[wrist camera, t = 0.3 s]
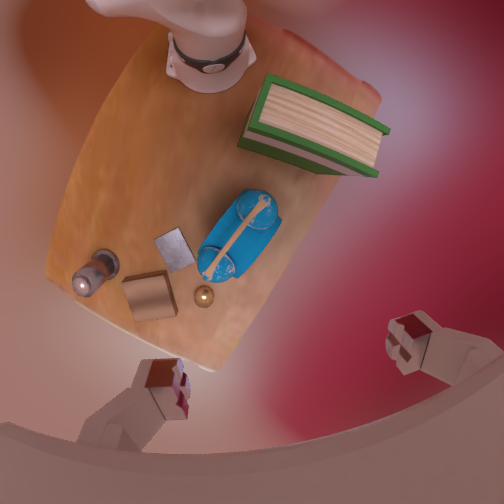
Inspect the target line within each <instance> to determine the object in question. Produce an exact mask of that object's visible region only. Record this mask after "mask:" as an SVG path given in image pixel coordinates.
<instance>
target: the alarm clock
mask: <svg viewBox="0 0 504 504" xmlns="http://www.w3.org/2000/svg"><path fill="white" fill-rule="evenodd" d="M281 221H282V219H281V218H280V217H279V216H278V208H277V204H276V201H275V200H274V198H273V197H272V196H271V195H270V194H269V193H267V192H265V191H262V190H252V191H251V190H250V189H248V188H247V189H246V190H244V191H243V192H242V193H241V195H240V196H239V197H238V198H237V199H236V200H235V201H234V202H233V204H232V205H231V206H230V207H229V208H228V210H227V211H226V212H225V213H224V215H223V216H222V217H221V219H220V220H219V221H218V222H217V224H216V225H215V227H214V228H213V229H212V231H211V232H210V233H209V235H208V236H207V238H206V239H205V241H204V242H203V244H202V245H201V247H200V249H199V251H198V253H197V254H198V258H197V267H198V270H199V272H200V274H201V275H202V277H203V279H204V280H206V281H210V282H214V283H220V282H224V281H226V280H228V279H229V278H231V277H232V276H233V277H235V278H238V277H240V276H241V275H242V274H243V273H244V272H245V271H246V270H247V269H248V268H249V267H250V266H251V264H252V263H253V262H254V261H255V260H256V258H257V257H258V256H259V255H260V253H261V252H262V251H263V249H264V248H265V247H266V245H267V244H268V243H269V241H270V240H271V238H272V237H273V235H274V234H275V232H276V231H277V229H278V228H279V226H280V224H281Z"/></svg>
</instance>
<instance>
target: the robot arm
mask: <svg viewBox="0 0 504 504" xmlns="http://www.w3.org/2000/svg"><path fill="white" fill-rule="evenodd" d="M86 2H87V4H88V5H89V6H90V7H91V8H92V9H93V10H95V11H96V12H98V13H99V14H101V15H104V16H107V17H118V16H129V17H138V18H143V19H148V20H151V21H154V22H157V23H159V24H162V25H164V26H166V27H167V28H169V30H170V31H171V32H169V33H168V41H170V45H169V52H168V59H167V67H166V73H167V75H168V76H170V77H172V78H175V79H178V80H180V81H181V82H182V83H183V84H184V85H186V86H187V87H188V88H190V89H192V90H194V91H197V92H201V93H217V92H221V91H224V90H226V89H229V88H230V87H232V86H233V85H235V84H236V83H237V82H238V81H239V80H240V79H241V77H242V76H243V74H244V72H245V71H246V69H247V68H248V67H250V66H251V65H252V64H254V63H255V62H256V54H255V52H254V50H253V48H252V46H251V44H250V42H249V40H248V37H247V35H246V31H245V24H246V19H247V8H246V5H245V4H244V2H243V1H242V0H86ZM250 54H251V55H250ZM171 66H172V67H171ZM388 329H389V331H390V334H389V335H388V336H387V338H386V351H387V353H388V355H389V356H390V358H391V359H393V360H396V361H397V364H396V366H397V367H398V368H399V369H400V371H401V372H402V374H403V375H406V374H408V373H411V372H414V371H417V370H419V369H421V370H422V371H424V372H426V373H428V374H430V375H432V376H434V377H436V378H438V379H440V380H442V381H444V382H446V383H448V384H450V385H452V387H450V388H448V389H446V390H444V391H442V392H440V393H439V394H437V395H435V396H433V397H431V398H429V399H427V400H425V401H423V402H420V403H418V404H416V405H414V406H412V407H409V408H407V409H405V410H402V411H400V412H397V413H395V414H393V415H390V416H387V417H385V418H382V419H380V420H377V421H374V422H371V423H369V424H365V425H362V426H360V427H356V428H353V429H350V430H347V431H343V432H340V433H336V434H333V435H329V436H326V437H321V438H317V439H313V440H308V441H304V442H300V443H294V444H289V445H284V446H278V447H272V448H265V449H257V450H249V451H241V452H228V453H212V454H160V453H144V452H141V450H142V449H143V448H144V447H145V446H146V445H147V443H148V442H149V441H150V440H151V439H152V437H153V436H154V435H155V434H156V433H157V431H158V430H159V429H160V428H161V427H162V425H163V424H164V423H165V420H184V419H187V418H188V409H189V406H188V403H187V400H188V399H189V398H190V384H189V379H188V376H187V375H186V374H185V373H184V372H183V368H184V365H183V363H182V360H181V359H180V358H171V359H170V358H169V359H147V360H146V359H144V360H142V361H141V362H140V364H139V367H138V369H137V372H136V375H135V377H134V380H133V383H132V386H131V388H126V390H124V391H123V392H121V393H120V394H119V395H117V396H116V397H115V398H113V399H112V400H111V401H110V402H108V403H107V404H106V405H104V406H103V407H102V408H100V409H99V410H98V411H96V412H95V413H94V414H92V415H91V416H90V417H88V418H87V419H86V420H85V422H84V424H83V427H82V429H81V432H80V434H79V437H78V439H77V442H72V441H68V440H64V439H60V438H56V437H52V436H49V435H45V434H42V433H39V432H35V431H32V430H29V429H26V428H24V427H21V426H18V425H16V424H13V423H10V422H3V423H0V504H504V351H502V350H501V349H500V348H499V347H498V346H497V345H495V344H494V343H493V342H492V341H491V340H490V339H487V338H483V337H479V336H475V335H472V334H468V333H464V332H460V331H457V330H453V329H449V328H442V327H440V326H439V325H438V324H437V323H436V322H435V321H434V320H433V319H431V318H430V317H429V316H428V315H427V314H426V313H424V312H423V311H420V310H419V311H416V312H413V313H411V314H409V315H405V316H402V317H399V318H396V319H393V320H390V322H389V326H388Z"/></svg>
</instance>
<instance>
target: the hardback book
mask: <svg viewBox="0 0 504 504" xmlns="http://www.w3.org/2000/svg"><path fill="white" fill-rule="evenodd" d="M389 133H390V128H388V127H387V126H385V125H383V124H381V123H380V122H378V121H376V120H374V119H372V118H371V117H369V116H367V115H365V114H363V113H361V112H359V111H357V110H355V109H353V108H351V107H349V106H347V105H345V104H343V103H341V102H339V101H337V100H335V99H333V98H330V97H328V96H326V95H324V94H321V93H319V92H317V91H314V90H312V89H309V88H307V87H304V86H302V85H299V84H297V83H294V82H292V81H289V80H286V79H283V78H280V77H278V76H275V75H272V74H269V73H268V74H267V76H266V78H265V80H264V82H263V84H262V86H261V88H260V90H259V92H258V94H257V96H256V98H255V100H254V102H253V105H252V107H251V109H250V111H249V113H248V116H247V119H246V122H245V125H244V128H243V130H242V133H241V136H240V139H239V142H238V145H237V147H240V148H243V149H247V150H250V151H253V152H256V153H259V154H262V155H265V156H268V157H271V158H274V159H277V160H280V161H283V162H286V163H289V164H292V165H294V166H297V167H300V168H303V169H305V170H308V171H311V172H313V173H316V174H327V175H346V176H361V177H374V178H377V177H378V173H379V171H377V170H375V169H373V166H374V163H375V159H376V156H377V152H378V149H379V145H380V141H381V137H382V136H383V135H389Z"/></svg>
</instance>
